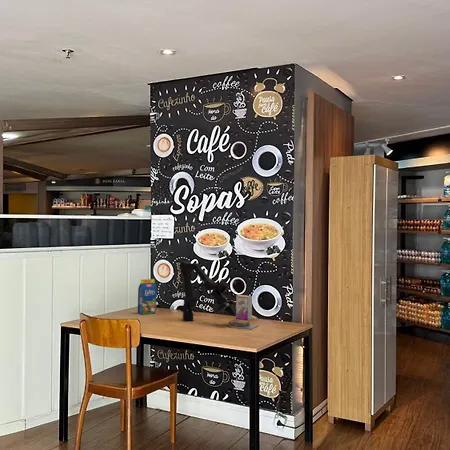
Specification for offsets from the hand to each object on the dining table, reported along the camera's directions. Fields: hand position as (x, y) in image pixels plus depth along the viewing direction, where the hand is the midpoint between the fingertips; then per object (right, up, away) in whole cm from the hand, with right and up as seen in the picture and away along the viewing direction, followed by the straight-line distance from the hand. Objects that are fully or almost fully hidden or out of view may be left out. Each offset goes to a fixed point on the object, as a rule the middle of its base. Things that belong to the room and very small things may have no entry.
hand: (234, 315), depth 367 cm
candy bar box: (+7, -8, +31) cm, 32 cm away
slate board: (+6, -7, -2) cm, 9 cm away
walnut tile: (-2, -5, +1) cm, 5 cm away
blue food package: (-63, -6, +49) cm, 80 cm away
